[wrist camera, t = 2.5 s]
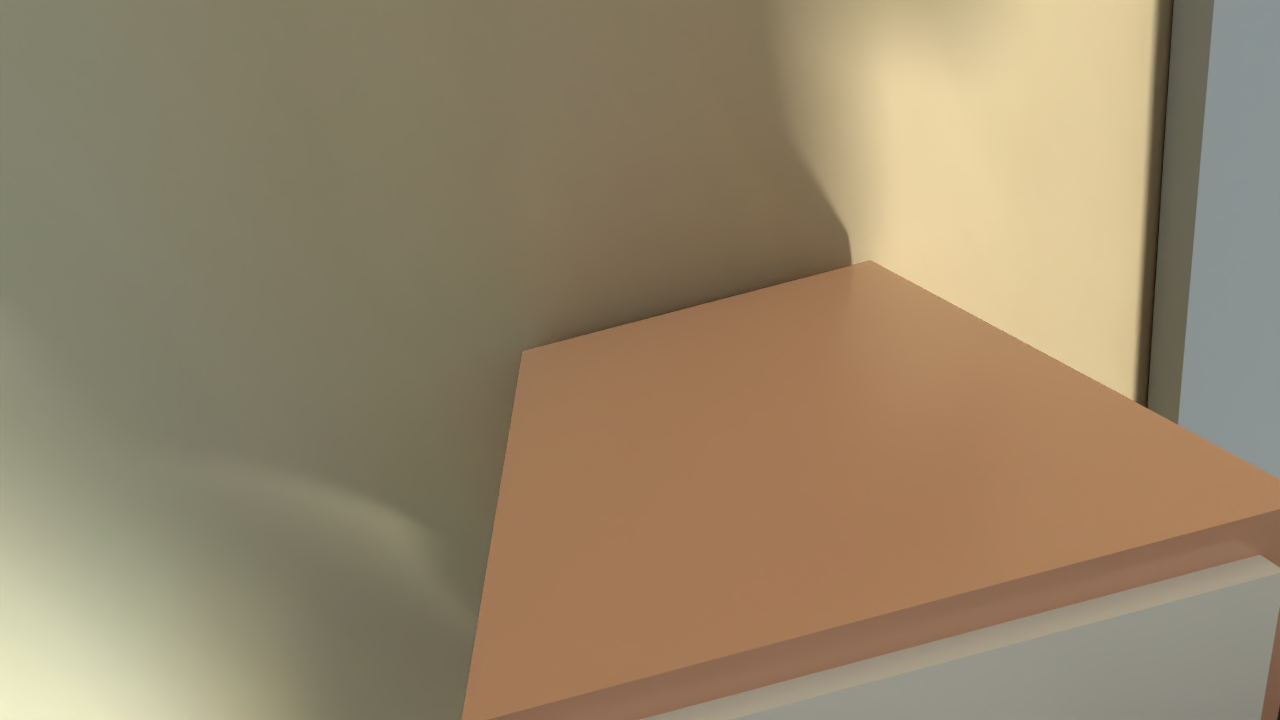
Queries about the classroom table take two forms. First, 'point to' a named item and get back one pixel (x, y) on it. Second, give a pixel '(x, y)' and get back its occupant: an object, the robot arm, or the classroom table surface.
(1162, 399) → the mat
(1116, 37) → the classroom table surface
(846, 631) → the brick
